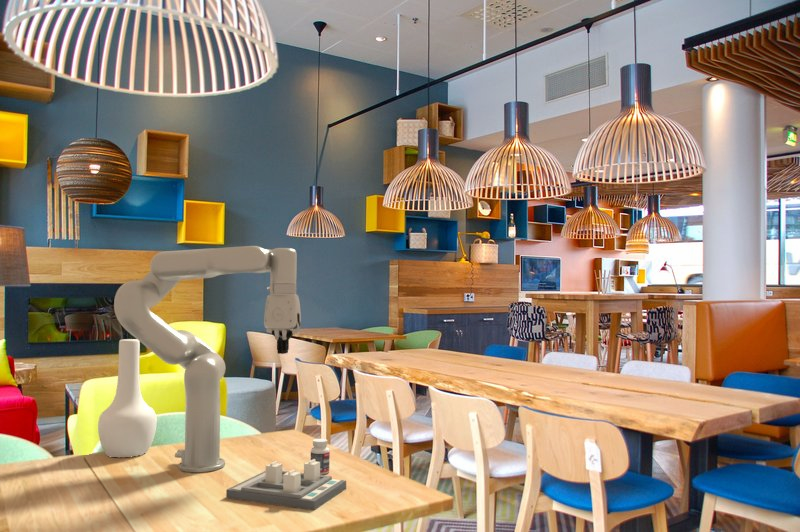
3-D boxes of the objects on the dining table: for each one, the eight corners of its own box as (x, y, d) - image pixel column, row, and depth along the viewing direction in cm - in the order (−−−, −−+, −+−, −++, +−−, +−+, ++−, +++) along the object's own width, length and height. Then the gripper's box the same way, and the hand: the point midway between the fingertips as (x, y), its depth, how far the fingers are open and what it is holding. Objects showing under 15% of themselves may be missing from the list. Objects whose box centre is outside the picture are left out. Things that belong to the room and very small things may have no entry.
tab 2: (283, 493, 150) (283, 471, 150) (289, 489, 153) (289, 468, 153) (294, 495, 149) (294, 473, 149) (300, 491, 152) (300, 469, 152)
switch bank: (226, 498, 153) (226, 486, 153) (264, 478, 169) (264, 468, 169) (314, 510, 145) (314, 497, 145) (346, 488, 160) (346, 477, 161)
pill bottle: (325, 475, 172) (326, 442, 172) (307, 474, 173) (307, 441, 173) (331, 470, 177) (332, 438, 177) (314, 469, 178) (314, 437, 178)
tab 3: (303, 481, 159) (304, 461, 159) (309, 478, 162) (309, 458, 162) (314, 483, 158) (314, 462, 158) (320, 479, 161) (320, 459, 161)
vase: (144, 444, 206) (146, 337, 208) (164, 454, 194) (166, 339, 196) (89, 453, 195) (92, 339, 197) (107, 464, 183) (110, 342, 184)
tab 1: (265, 483, 157) (265, 463, 157) (271, 480, 160) (272, 460, 160) (275, 485, 156) (276, 464, 156) (282, 481, 159) (282, 461, 159)
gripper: (254, 290, 184) (253, 353, 183) (299, 290, 178) (298, 355, 178) (268, 290, 191) (267, 351, 190) (312, 290, 186) (311, 353, 185)
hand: (282, 353), depth 184 cm, fingers closed
